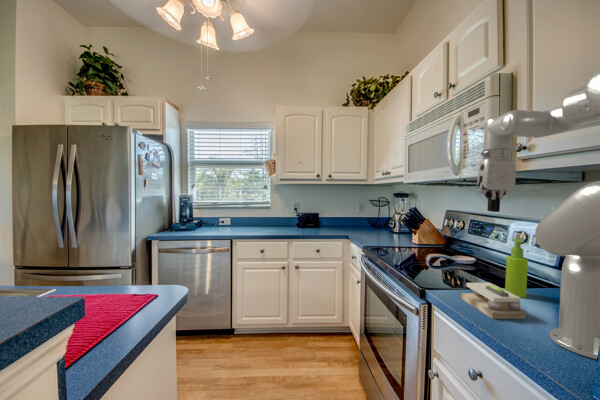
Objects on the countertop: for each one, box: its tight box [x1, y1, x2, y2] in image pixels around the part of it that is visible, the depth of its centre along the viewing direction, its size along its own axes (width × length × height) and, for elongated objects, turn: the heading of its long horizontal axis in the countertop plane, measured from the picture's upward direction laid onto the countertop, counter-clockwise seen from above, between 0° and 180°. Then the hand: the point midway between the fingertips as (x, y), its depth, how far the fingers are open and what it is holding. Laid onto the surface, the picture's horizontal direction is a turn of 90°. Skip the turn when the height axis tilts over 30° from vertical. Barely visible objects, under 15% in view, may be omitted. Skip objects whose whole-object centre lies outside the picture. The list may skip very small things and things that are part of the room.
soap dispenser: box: [504, 238, 529, 299], centre depth 95 cm, size 6×7×20 cm
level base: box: [460, 291, 527, 320], centre depth 85 cm, size 14×10×4 cm
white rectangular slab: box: [466, 282, 521, 303], centre depth 85 cm, size 12×8×3 cm, turn 3°
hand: (493, 211), depth 89 cm, fingers closed
